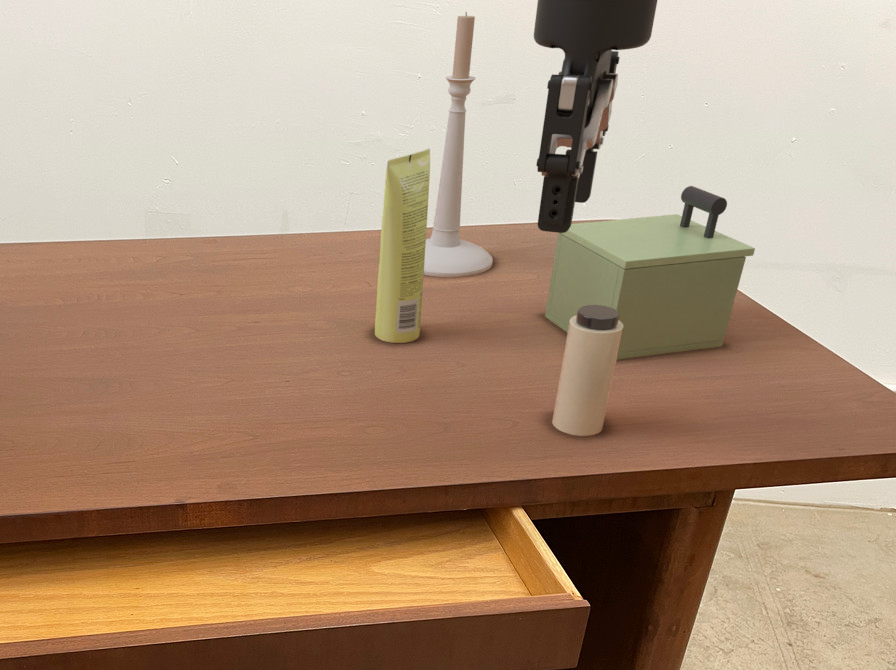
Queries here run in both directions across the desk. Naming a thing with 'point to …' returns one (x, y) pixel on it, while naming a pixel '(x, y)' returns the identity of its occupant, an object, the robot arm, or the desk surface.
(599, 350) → the spice bottle
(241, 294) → the desk surface
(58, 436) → the desk surface
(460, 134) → the candlestick
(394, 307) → the tube
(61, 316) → the desk surface
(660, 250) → the lid
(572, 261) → the chest
